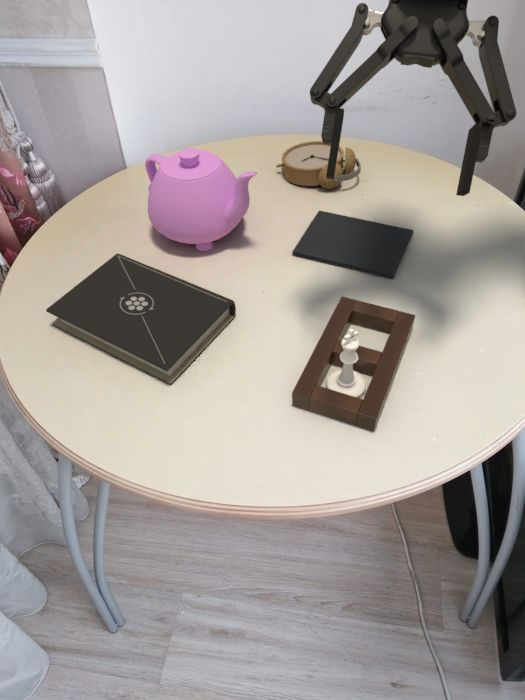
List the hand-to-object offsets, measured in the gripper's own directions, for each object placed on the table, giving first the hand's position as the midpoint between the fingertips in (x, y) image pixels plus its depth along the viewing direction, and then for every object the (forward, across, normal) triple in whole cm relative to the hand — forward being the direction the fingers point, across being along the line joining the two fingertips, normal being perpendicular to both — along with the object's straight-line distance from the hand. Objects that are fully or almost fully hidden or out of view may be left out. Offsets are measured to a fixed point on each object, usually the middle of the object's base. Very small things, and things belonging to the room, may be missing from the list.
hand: (395, 185), depth 58 cm
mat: (+5, +3, -30) cm, 31 cm away
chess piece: (+24, +1, -8) cm, 25 cm away
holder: (+21, 0, -11) cm, 23 cm away
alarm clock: (-7, +10, -47) cm, 48 cm away
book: (+20, +30, -15) cm, 39 cm away
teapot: (+7, +27, -32) cm, 42 cm away
